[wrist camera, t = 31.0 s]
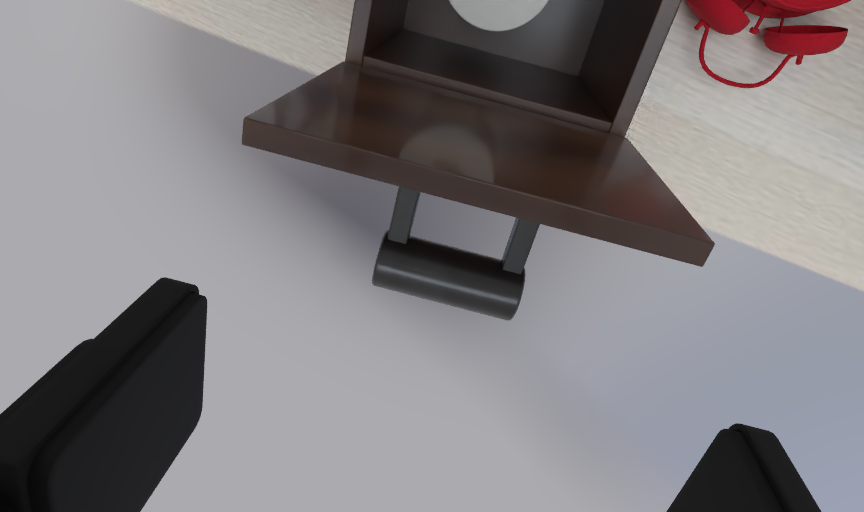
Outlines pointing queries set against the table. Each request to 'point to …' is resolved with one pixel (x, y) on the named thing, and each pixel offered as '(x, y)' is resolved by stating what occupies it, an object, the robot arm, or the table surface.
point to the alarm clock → (722, 12)
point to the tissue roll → (498, 12)
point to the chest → (523, 54)
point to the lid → (474, 178)
